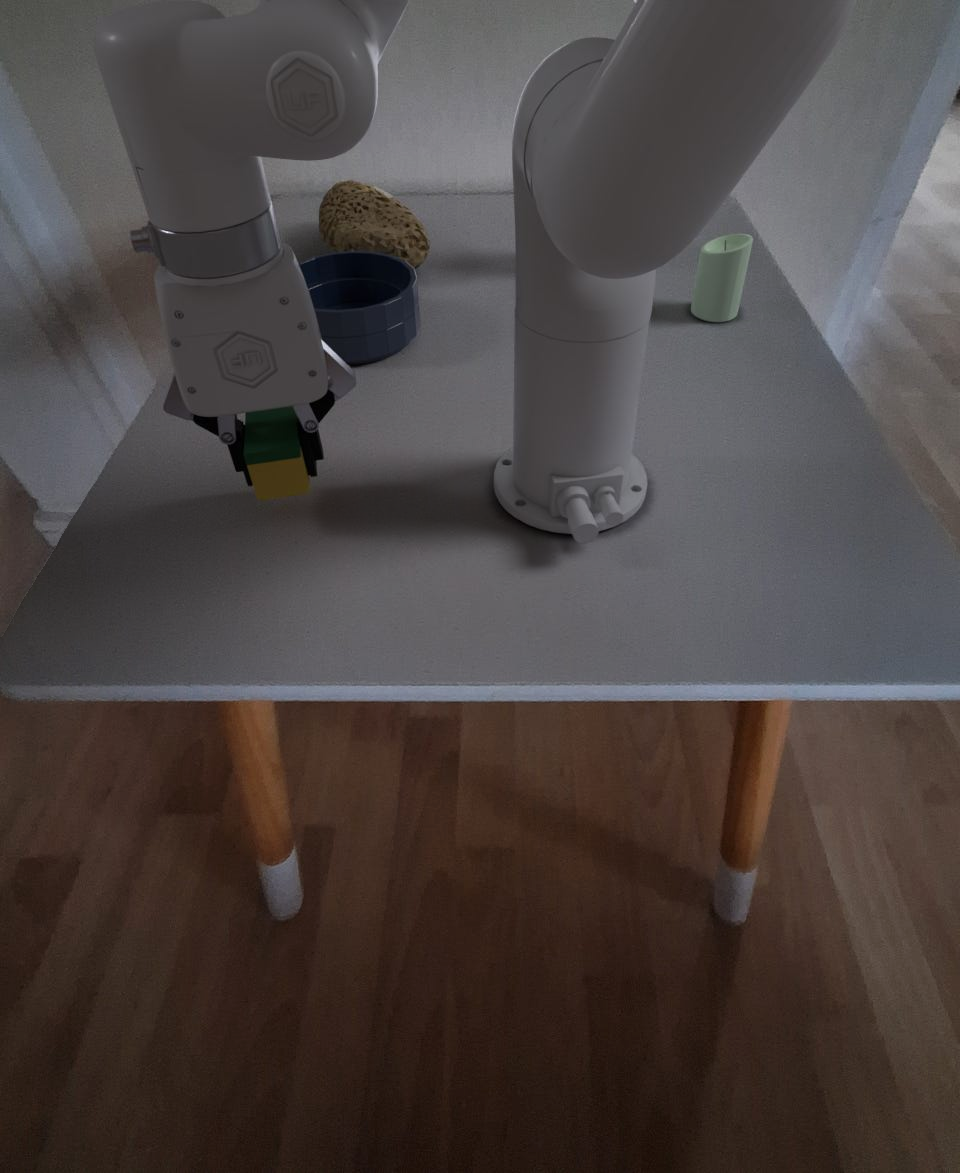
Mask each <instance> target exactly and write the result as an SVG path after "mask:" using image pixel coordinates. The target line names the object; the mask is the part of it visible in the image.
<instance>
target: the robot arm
mask: <svg viewBox="0 0 960 1173" xmlns="http://www.w3.org/2000/svg"><path fill="white" fill-rule="evenodd" d="M410 1H411V0H260V1H259V3H258V5H257V7H256V8H255V9H253V10H251V11H250V12H248V13H244V14H239V15H238V14H237V15H232V16H227V17H226V16H225V15H224V14H223V13H222V11H220V10H219V9H218V8H216V7H214V6H213V5H212V4H209V3H206V2H201V1H197V0H162V1H154V2H153V1H152V2H147V3H140V4H136V5H132V6H131V5H130V6H127V7H124V8H121V9H117V10H115V11H113V12H110V13H108V15H105V16H104V17H102V19H100V20H99V21H98V23H97V25H96V26H95V30H94V33H93V50H94V54H95V58H96V62H97V65H98V69H99V72H100V75H101V77H102V81H103V84H104V87H105V90H106V92H107V96H108V99H109V102H110V105H111V108H112V111H113V115H114V118H115V121H116V123H117V126H118V129H119V133H120V135H121V138H122V142H123V145H124V148H125V152H126V154H127V157H128V160H129V163H130V165H131V169H132V172H133V174H134V177H135V180H136V183H137V186H138V189H139V194H140V195H141V198H142V201H143V204H144V207H145V210H146V214H147V217H148V221H147V224H146V225H145V226H144V225H143V226H142V227H141V229H132V230H130V231H129V237H130V242H131V245H132V249H133V250H134V252H135V253H136V254H137V253H139V254H140V253H147V254H153V255H154V256H155V258H156V259H158V261H159V265H157V268H156V270H155V272H154V274H153V279H154V289H155V290H154V291H155V295H156V296H155V297H156V302H157V307H158V311H159V312H158V313H159V317H160V322H161V326H162V330H163V334H164V335H163V336H164V338H165V342H166V343H165V344H166V346H167V351H168V354H169V357H170V358H169V359H170V361H171V365H172V369H173V373H172V376H171V380H170V382H169V385H168V388H167V391H166V392H165V396H164V400H163V406H162V409H163V411H164V412H165V413H166V414H168V415H171V416H174V417H177V418H179V419H182V420H186V421H192V422H193V423H194V424H195V425H196V426H198V427H200V428H202V429H204V430H205V431H207V432H209V433H211V434H213V435H215V436H217V437H218V438H219V441H220V442H221V443H222V444H224V445H226V446H227V450H228V453H229V455H230V458H231V462H232V465H233V467H234V471H235V472H236V473H241V472H243V473H242V474H243V475H244V479H245V482H246V485H247V487H253V483H252V480H251V477H250V474H249V470H248V467H247V464H246V461H245V458H244V435H245V422H244V420H241V419H239V418H238V415H241V414H246V413H248V412H255V411H262V410H269V409H276V408H283V407H289V406H292V407H293V409H294V411H295V413H296V415H297V417H298V436H299V441H300V446H301V449H302V453H303V457H304V461H305V465H306V469H307V473H308V476H309V478H314V477H318V465H317V461H324V460H325V458H324V457H325V455H324V449H323V443H322V440H321V435H320V431H319V427H320V423H321V422H322V421H323V419H324V418H325V417H326V416H327V414H328V413H330V411H331V410H332V408H333V407H334V406H335V404H336V402H337V401H338V400H341V399H342V398H343V397H344V396H346V395H347V394H348V393H349V392H351V391H353V389H354V388H355V387H356V386H357V375H356V372H355V371H354V369H353V368H352V367H351V366H350V365H347V364H346V363H345V362H344V361H343V360H342V359H341V358H340V357H339V356H338V355H337V354H336V353H335V352H334V351H333V350H332V349H331V348H330V347H329V346H328V345H327V344H326V343H325V342H324V341H323V340H322V337H321V333H320V329H319V325H318V321H317V318H316V314H315V310H314V307H313V304H312V300H311V297H310V294H309V291H308V288H307V285H306V282H305V279H304V276H303V274H302V271H301V269H300V266H299V264H298V262H299V261H298V260H297V257H296V254H295V252H294V251H293V249H292V247H291V245H289V244H288V243H287V242H284V241H281V237H280V233H279V227H278V223H277V218H276V215H275V211H274V206H273V201H272V198H271V192H270V189H269V184H268V181H267V177H266V172H265V171H266V170H265V167H264V163H263V159H262V158H269V159H279V160H288V161H289V160H291V161H305V162H307V161H323V160H329V159H333V158H337V157H338V156H341V155H343V154H345V153H347V152H349V151H350V150H352V149H353V148H354V147H356V145H358V144H359V143H360V142H361V141H362V139H363V138H364V137H365V136H366V134H367V133H368V132H369V129H370V127H371V125H372V123H373V120H374V118H375V115H376V111H377V107H378V106H377V105H378V98H379V96H378V95H379V70H378V64H379V62H380V60H381V59H382V56H383V54H384V52H385V50H386V47H387V46H388V44H389V42H390V40H391V38H392V36H393V34H394V33H395V31H396V29H397V26H398V24H400V22H401V20H402V17H403V15H404V13H405V12H406V10H407V7H408V6H409V3H410ZM632 1H633V2H634V5H633V7H632V9H631V10H630V12H629V14H628V16H627V18H626V19H625V21H624V23H623V25H622V27H621V28H620V30H619V32H618V34H617V36H616V37H615V39H614V38H608V37H598V36H597V37H596V36H595V37H594V36H591V37H583V38H578V39H575V40H572V41H570V42H567V43H565V44H563V45H562V46H560V47H558V48H557V49H555V50H554V51H552V52H551V53H550V54H548V55H547V56H546V57H545V58H544V59H543V60H542V61H540V63H539V64H538V65H537V67H536V68H535V69H534V70H533V72H532V73H531V75H530V76H529V78H528V79H527V81H526V82H525V84H524V87H523V90H522V92H521V93H520V96H519V99H518V103H517V105H516V109H515V114H514V119H513V126H512V136H511V173H512V185H513V186H512V189H513V209H514V210H513V212H514V238H515V245H514V246H515V279H514V280H515V284H514V285H515V286H514V287H515V293H514V299H515V300H514V303H515V304H514V325H513V326H514V331H513V333H514V334H513V335H514V336H513V340H514V341H513V404H512V406H513V407H512V408H513V409H512V413H513V414H512V447H511V448H509V449H508V450H507V451H505V453H504V454H502V455H501V457H500V458H499V460H497V462H496V465H495V468H494V471H493V488H494V494H495V496H496V499H497V500H498V503H499V504H500V505H501V506H502V507H503V509H504V510H505V511H506V512H507V513H509V514H510V515H511V516H512V517H513V518H514V519H517V520H519V521H521V522H522V523H524V524H526V525H528V526H530V527H533V528H536V529H538V530H543V531H547V532H551V533H555V534H556V533H557V534H566V535H567V534H568V535H572V538H573V539H574V541H575V542H577V543H579V544H589V543H592V542H593V541H595V539H597V538H598V535H599V533H600V532H602V531H606V530H608V529H612V528H615V527H617V526H620V525H621V524H622V523H625V522H626V521H628V520H629V519H630V518H631V517H633V516H634V515H636V514H637V512H639V509H640V508H641V507H642V506H643V504H644V501H645V499H646V496H647V489H648V475H647V472H646V469H645V467H644V465H643V464H642V462H641V461H640V460H639V458H637V457H636V456H635V455H634V454H633V449H634V441H635V436H636V435H635V433H636V426H637V420H638V419H637V418H638V411H639V405H640V404H639V403H640V396H641V390H642V383H643V382H642V380H643V374H644V367H645V360H646V351H647V345H648V338H649V336H648V335H649V329H650V323H651V318H652V311H653V304H654V298H655V289H656V279H657V278H656V277H657V269H658V268H660V267H662V266H664V265H665V264H667V263H668V262H670V261H671V260H673V259H674V258H675V257H677V256H678V255H680V253H681V252H682V251H684V250H685V249H686V248H687V247H688V246H689V245H690V244H691V243H692V242H693V241H694V240H695V239H696V238H697V237H698V235H699V234H700V233H701V232H702V231H703V230H704V228H706V226H707V225H708V224H709V222H710V221H711V220H712V219H713V217H714V216H715V215H716V213H717V212H718V211H719V210H720V208H721V207H722V206H723V205H724V203H725V201H726V200H727V199H728V197H729V196H730V195H731V193H732V192H733V191H734V189H735V188H736V186H737V185H738V184H739V182H740V181H741V179H742V178H743V177H744V175H745V174H746V173H747V171H748V170H749V169H750V167H751V166H752V165H753V163H754V162H755V161H756V159H757V158H758V156H759V155H760V153H761V152H762V151H763V149H764V148H765V146H766V145H767V144H768V142H769V141H770V139H771V138H772V137H773V135H774V134H775V132H777V130H778V129H779V127H780V126H781V124H782V123H783V121H784V120H785V119H786V117H787V116H788V114H789V113H790V112H791V110H792V109H793V107H794V106H795V105H796V103H797V102H798V101H799V100H800V98H801V96H802V95H803V94H804V92H805V91H806V90H807V88H808V87H809V85H810V84H811V83H812V81H813V80H814V78H815V77H816V75H817V74H818V72H819V71H820V70H821V68H822V66H823V65H824V64H825V63H826V61H827V60H828V58H829V56H830V55H831V53H832V52H833V51H834V48H835V47H836V45H837V43H838V42H839V40H840V39H841V36H842V35H843V32H844V31H845V29H846V27H847V25H848V22H849V20H850V18H851V16H852V14H853V11H854V9H855V7H856V4H857V3H858V0H632Z"/></svg>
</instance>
